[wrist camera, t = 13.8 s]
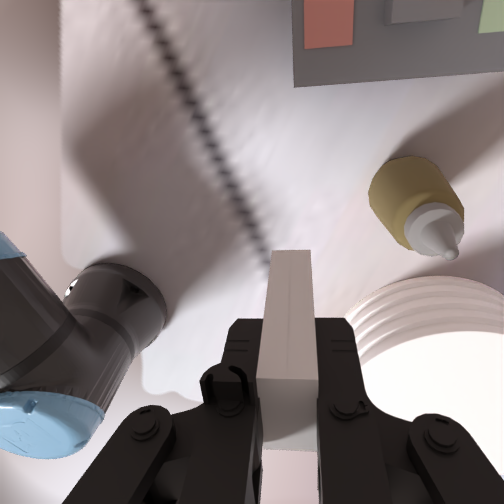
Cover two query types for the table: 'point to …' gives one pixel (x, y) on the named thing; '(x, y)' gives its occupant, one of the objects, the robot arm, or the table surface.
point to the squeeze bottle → (418, 206)
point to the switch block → (394, 39)
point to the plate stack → (436, 354)
